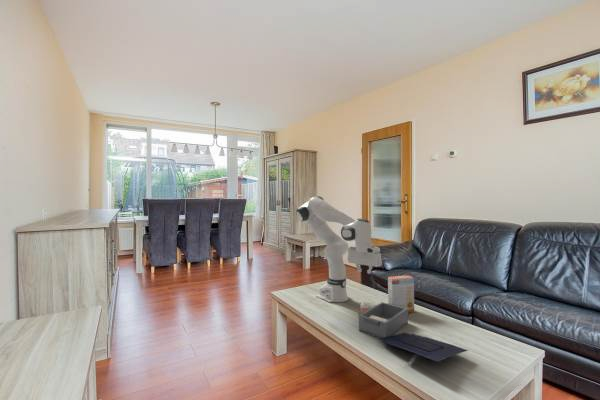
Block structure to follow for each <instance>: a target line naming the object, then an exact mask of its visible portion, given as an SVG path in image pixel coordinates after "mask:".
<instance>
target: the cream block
mask: <svg viewBox="0 0 600 400" xmlns="http://www.w3.org/2000/svg"><path fill="white" fill-rule="evenodd" d="M369 318H373V319H376V320H379V321H383V322H386V321H388V320H387V319H384V318H380V317H377V316H373V315H371V316H370V317H369Z"/></svg>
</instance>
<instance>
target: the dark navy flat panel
mask: <svg viewBox="0 0 600 400" xmlns="http://www.w3.org/2000/svg"><path fill="white" fill-rule="evenodd" d="M378 340H380V341H381V342H383V343H386V344H388V345H390V346H393V347H396V348H399V349H402V350H405V351H406V352H407V351H408V352H409V353H410V352H411V353H414V354H417V355H419V356H421V357H424V358H426V359H429V360H431V361H434V362H440V361H443V360H444V359H447V358H449V357H452V356H455V355H459V354H461V353H465V352H469V350H468V349H465V348H462V347H461V346H460V347H459V346H456V345H453V344H451V343H447V342H444V341H441V340H437V339H433V338H430V337H427V336H421V335H417V334H414V333H409V332H408V333H407V332H402V333H397V334H394V335H392V336H388V337H384V338H378Z"/></svg>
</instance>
